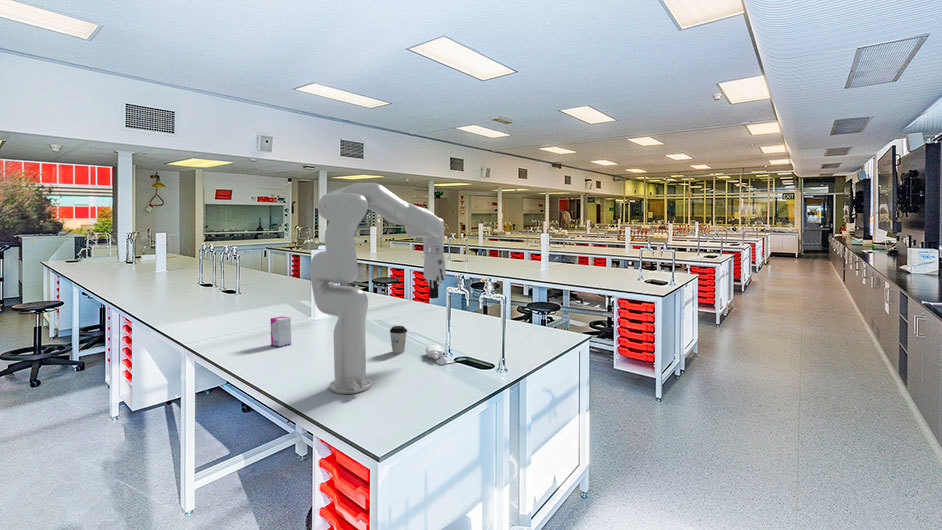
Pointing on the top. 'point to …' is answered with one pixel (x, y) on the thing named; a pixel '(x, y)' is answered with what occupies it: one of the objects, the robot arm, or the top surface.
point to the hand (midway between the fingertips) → (433, 297)
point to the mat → (438, 360)
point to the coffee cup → (398, 338)
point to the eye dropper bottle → (433, 351)
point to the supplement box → (280, 331)
